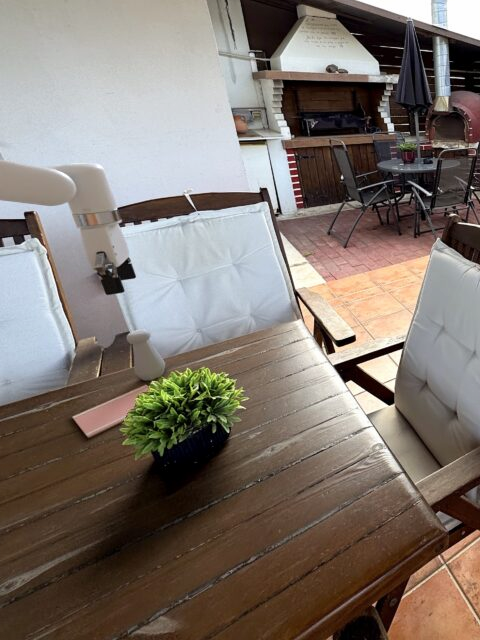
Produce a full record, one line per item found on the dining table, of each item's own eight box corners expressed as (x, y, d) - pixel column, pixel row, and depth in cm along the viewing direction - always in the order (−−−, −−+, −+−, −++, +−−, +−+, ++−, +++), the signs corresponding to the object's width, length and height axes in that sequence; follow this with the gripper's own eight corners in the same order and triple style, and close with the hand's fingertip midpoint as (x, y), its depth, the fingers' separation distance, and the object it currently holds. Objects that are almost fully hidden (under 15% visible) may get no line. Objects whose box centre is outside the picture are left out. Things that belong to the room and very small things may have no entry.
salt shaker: (171, 373, 103) (156, 330, 99) (143, 385, 99) (126, 340, 94) (162, 366, 106) (147, 323, 102) (134, 377, 102) (117, 333, 97)
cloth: (88, 438, 83) (87, 436, 83) (72, 418, 89) (71, 416, 88) (164, 402, 93) (164, 400, 93) (146, 385, 99) (145, 384, 99)
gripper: (89, 212, 97) (113, 277, 103) (58, 229, 83) (87, 303, 89) (130, 209, 101) (150, 271, 106) (107, 224, 87) (132, 296, 92)
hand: (122, 286), depth 98 cm, fingers open, 9 cm apart
